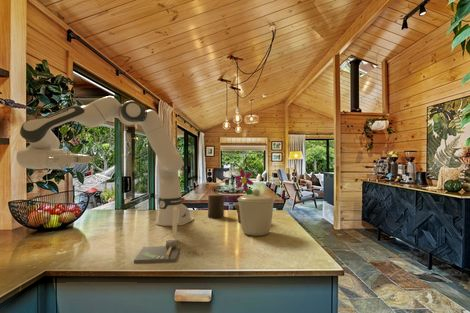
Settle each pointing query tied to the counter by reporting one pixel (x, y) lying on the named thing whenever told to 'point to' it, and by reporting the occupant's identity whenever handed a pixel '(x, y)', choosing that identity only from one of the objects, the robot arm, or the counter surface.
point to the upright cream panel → (173, 233)
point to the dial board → (156, 254)
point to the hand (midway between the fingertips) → (92, 159)
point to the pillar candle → (215, 205)
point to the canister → (256, 213)
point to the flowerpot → (245, 182)
